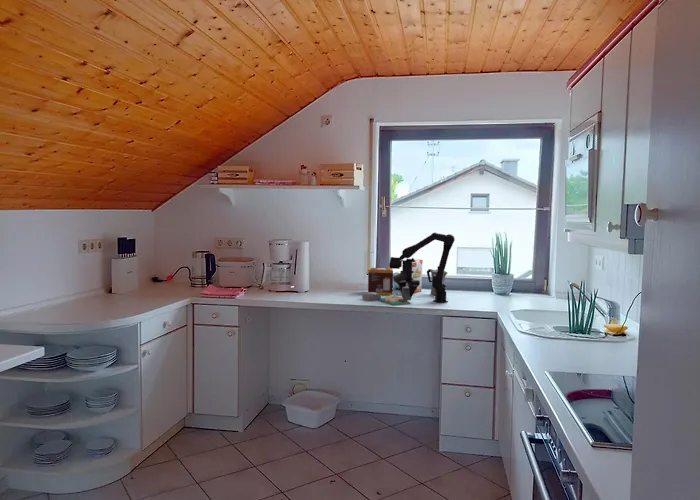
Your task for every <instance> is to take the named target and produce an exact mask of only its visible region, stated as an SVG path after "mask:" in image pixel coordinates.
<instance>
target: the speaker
mask: <svg viewBox="0 0 700 500" xmlns="http://www.w3.org/2000/svg"><path fill="white" fill-rule="evenodd" d="M361 297H362V300H364V301H367V302H375V301H379V298H382V295H381V294H379V293H376V292H368V291H367V292H362V294H361Z"/></svg>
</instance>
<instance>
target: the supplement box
mask: <svg viewBox="0 0 700 500" xmlns="http://www.w3.org/2000/svg"><path fill="white" fill-rule="evenodd" d="M367 273H368V274H367V275H368V276H367V292H376V293H379V294H381V296H394V293H393V291H394V289H393V288H394V278H393V277H394V269H391V268H390V267H368V271H367Z"/></svg>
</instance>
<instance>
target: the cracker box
mask: <svg viewBox="0 0 700 500" xmlns="http://www.w3.org/2000/svg"><path fill="white" fill-rule="evenodd" d="M414 259H415V258H414ZM415 260H416V261H415V262H412V271H414V273H412V278H413V280H418V281H419V282H420V285H418V287H417V288H416V290H415V292H414V294H417V293H420V292H422V284H423V283H422V281H423V264H424V263H423V261H424V260H423V259H419V258H418V259H417V258H416V259H415ZM405 287H408V283H406V286H405Z"/></svg>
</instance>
